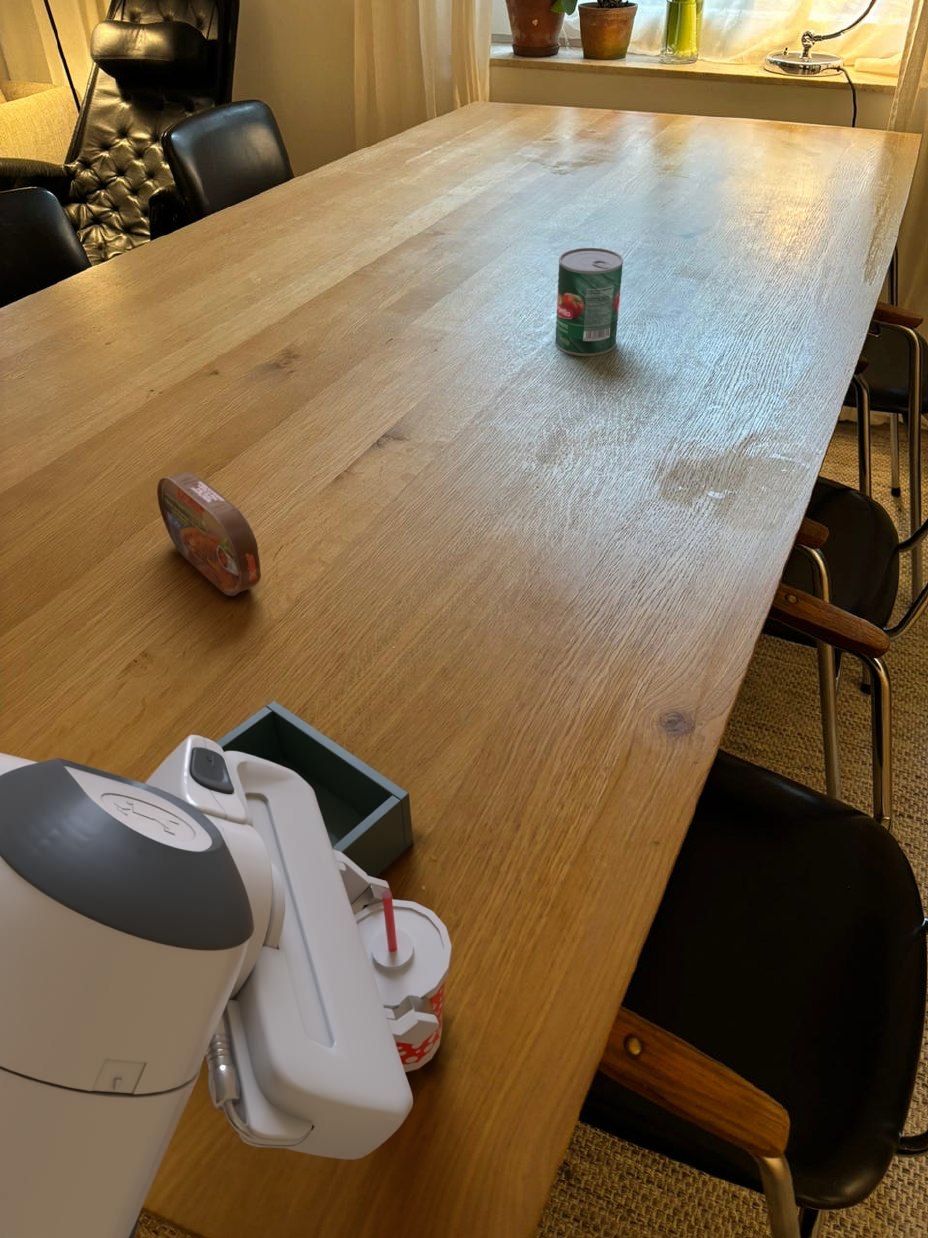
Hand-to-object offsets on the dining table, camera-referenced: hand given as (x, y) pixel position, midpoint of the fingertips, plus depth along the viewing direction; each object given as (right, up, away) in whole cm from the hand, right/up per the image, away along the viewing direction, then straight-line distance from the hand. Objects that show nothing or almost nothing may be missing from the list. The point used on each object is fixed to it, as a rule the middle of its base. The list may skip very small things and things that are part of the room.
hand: (404, 958), depth 53 cm
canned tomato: (+19, +54, +76) cm, 95 cm away
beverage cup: (0, -6, +5) cm, 8 cm away
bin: (-10, +2, +16) cm, 19 cm away
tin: (-20, +23, +41) cm, 51 cm away
